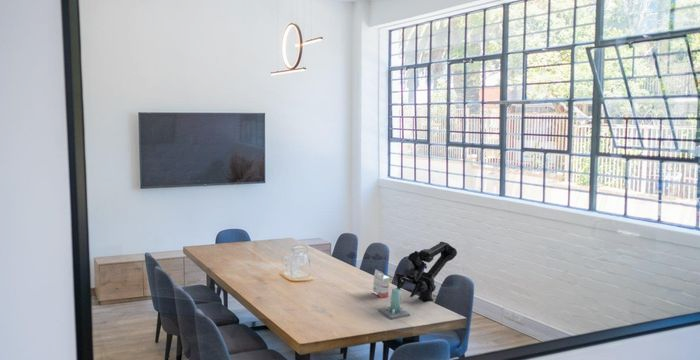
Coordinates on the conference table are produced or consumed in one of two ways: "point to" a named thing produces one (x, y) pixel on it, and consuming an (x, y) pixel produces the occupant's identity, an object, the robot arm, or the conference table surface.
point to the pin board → (394, 315)
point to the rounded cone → (395, 300)
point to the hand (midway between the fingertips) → (403, 294)
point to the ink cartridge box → (381, 284)
